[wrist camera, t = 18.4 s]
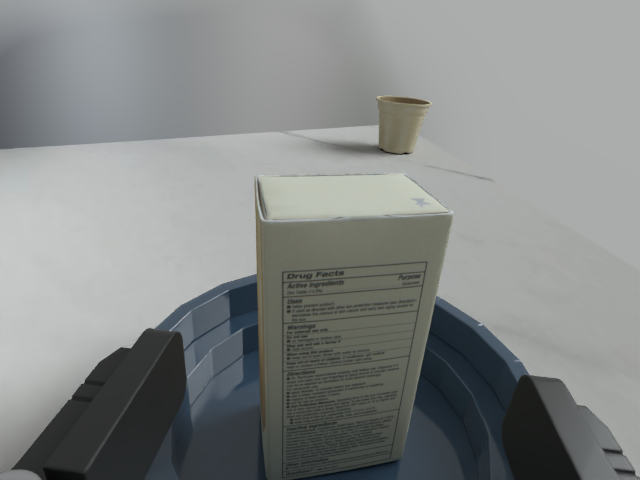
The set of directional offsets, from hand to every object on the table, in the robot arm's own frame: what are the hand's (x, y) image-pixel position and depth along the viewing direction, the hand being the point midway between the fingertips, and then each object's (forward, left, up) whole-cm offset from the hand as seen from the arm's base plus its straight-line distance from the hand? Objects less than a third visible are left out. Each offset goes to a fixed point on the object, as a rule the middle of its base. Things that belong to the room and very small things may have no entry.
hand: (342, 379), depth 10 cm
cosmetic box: (+2, -6, -10) cm, 11 cm away
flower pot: (+7, -67, -10) cm, 68 cm away
